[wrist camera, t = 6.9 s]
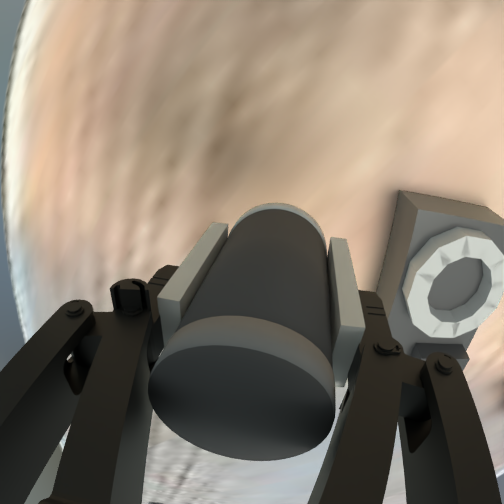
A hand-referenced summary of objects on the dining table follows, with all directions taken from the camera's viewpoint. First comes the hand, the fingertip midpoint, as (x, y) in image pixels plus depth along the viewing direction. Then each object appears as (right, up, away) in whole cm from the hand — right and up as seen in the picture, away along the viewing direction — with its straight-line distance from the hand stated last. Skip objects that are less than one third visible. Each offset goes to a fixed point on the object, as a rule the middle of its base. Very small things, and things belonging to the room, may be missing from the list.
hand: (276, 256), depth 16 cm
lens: (0, 0, +1) cm, 1 cm away
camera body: (+18, -2, +16) cm, 24 cm away
